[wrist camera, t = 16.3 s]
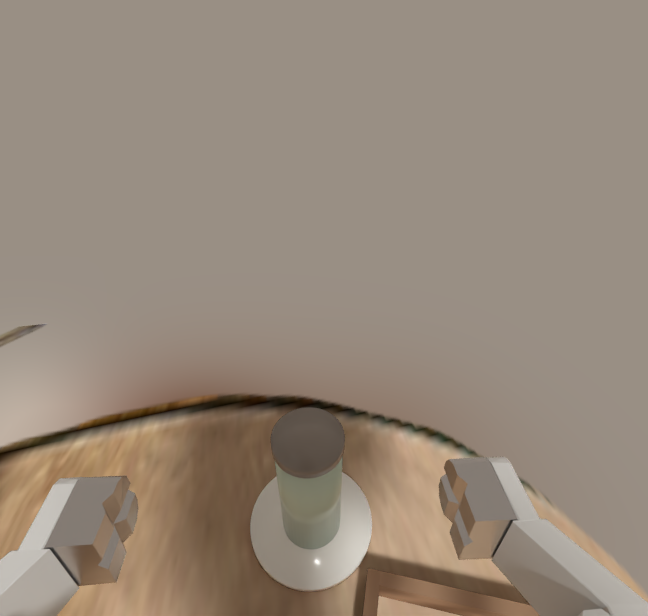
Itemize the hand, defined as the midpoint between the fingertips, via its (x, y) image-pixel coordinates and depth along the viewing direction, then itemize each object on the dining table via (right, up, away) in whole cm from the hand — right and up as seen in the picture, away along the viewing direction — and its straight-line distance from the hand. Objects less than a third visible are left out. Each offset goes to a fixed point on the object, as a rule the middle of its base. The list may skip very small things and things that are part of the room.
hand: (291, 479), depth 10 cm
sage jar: (0, -15, +26) cm, 30 cm away
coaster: (0, -15, +26) cm, 30 cm away
